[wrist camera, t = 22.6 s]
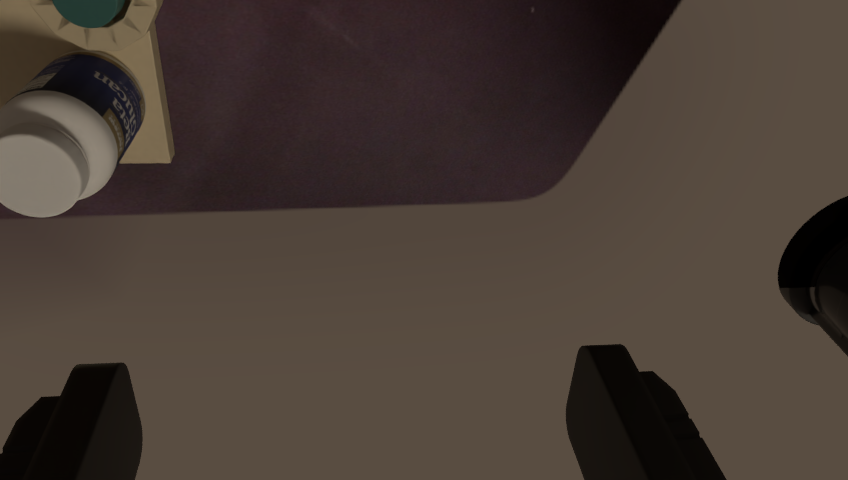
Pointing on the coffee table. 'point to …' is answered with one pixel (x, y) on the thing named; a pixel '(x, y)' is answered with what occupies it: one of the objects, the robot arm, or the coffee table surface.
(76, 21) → the button
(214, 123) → the coffee table surface
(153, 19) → the button board
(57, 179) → the pill bottle
